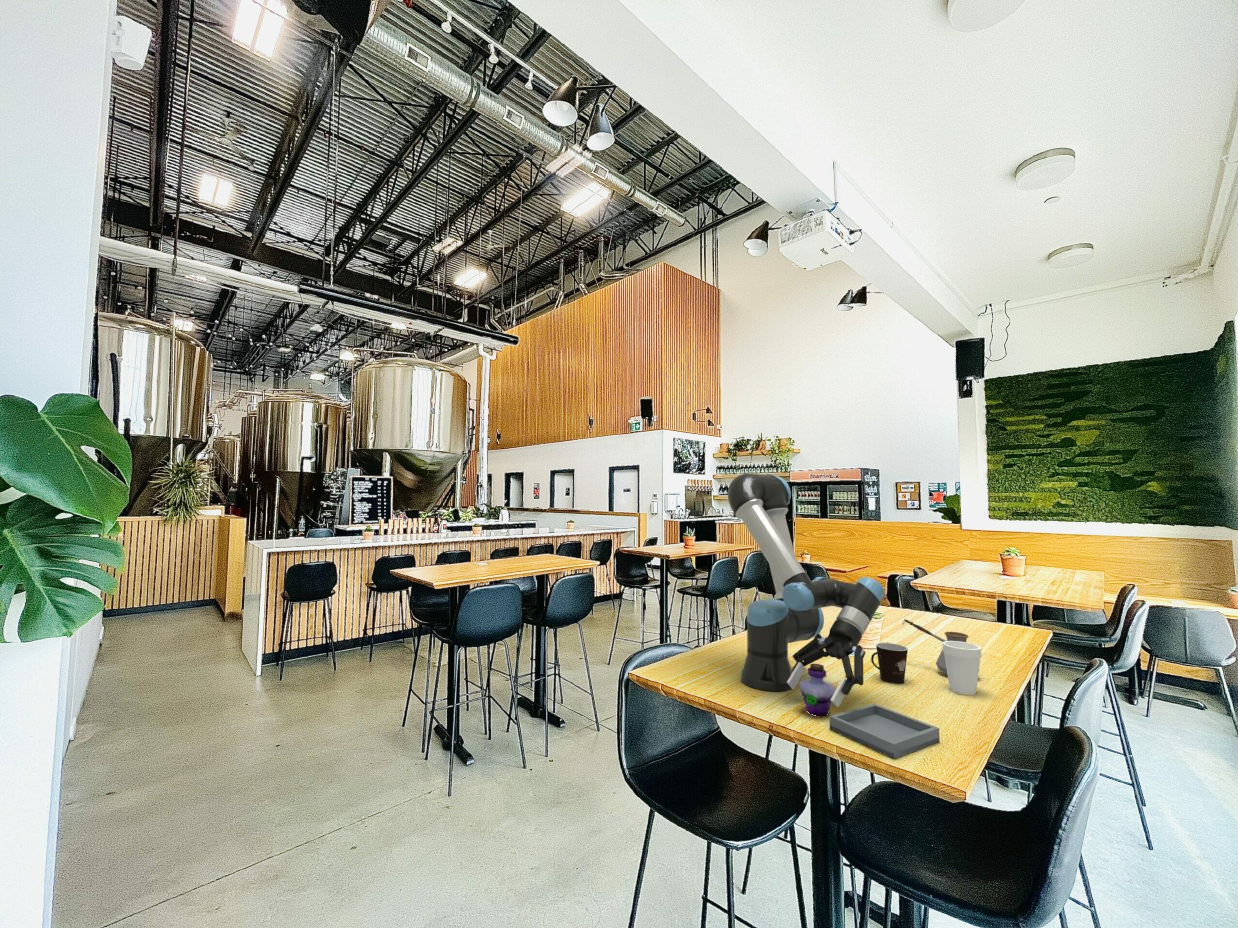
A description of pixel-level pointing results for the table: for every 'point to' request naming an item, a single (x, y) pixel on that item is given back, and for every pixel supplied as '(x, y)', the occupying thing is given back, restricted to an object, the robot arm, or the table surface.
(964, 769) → the table surface
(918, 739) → the tray
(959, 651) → the foam cup
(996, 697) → the table surface
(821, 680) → the potion bottle
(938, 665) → the coffee pot
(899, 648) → the coffee mug
